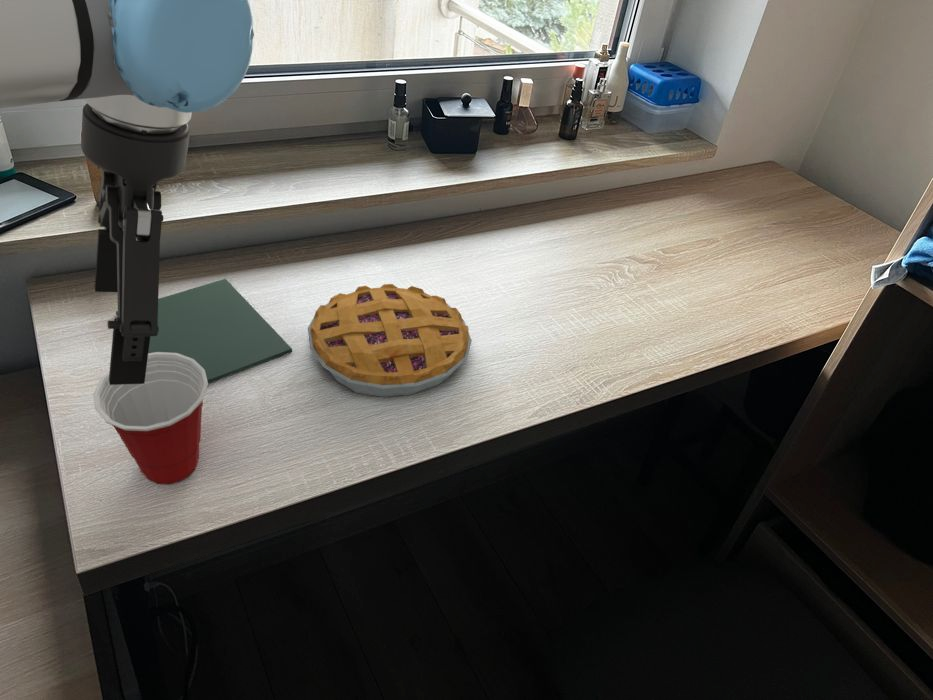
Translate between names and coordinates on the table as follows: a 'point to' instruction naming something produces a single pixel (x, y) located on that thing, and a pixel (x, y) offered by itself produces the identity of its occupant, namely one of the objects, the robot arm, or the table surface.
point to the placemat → (215, 330)
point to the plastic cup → (158, 415)
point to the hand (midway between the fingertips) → (117, 333)
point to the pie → (389, 340)
